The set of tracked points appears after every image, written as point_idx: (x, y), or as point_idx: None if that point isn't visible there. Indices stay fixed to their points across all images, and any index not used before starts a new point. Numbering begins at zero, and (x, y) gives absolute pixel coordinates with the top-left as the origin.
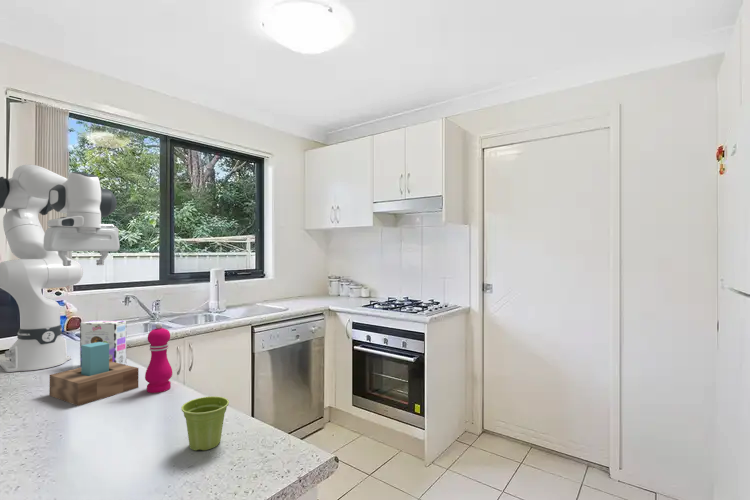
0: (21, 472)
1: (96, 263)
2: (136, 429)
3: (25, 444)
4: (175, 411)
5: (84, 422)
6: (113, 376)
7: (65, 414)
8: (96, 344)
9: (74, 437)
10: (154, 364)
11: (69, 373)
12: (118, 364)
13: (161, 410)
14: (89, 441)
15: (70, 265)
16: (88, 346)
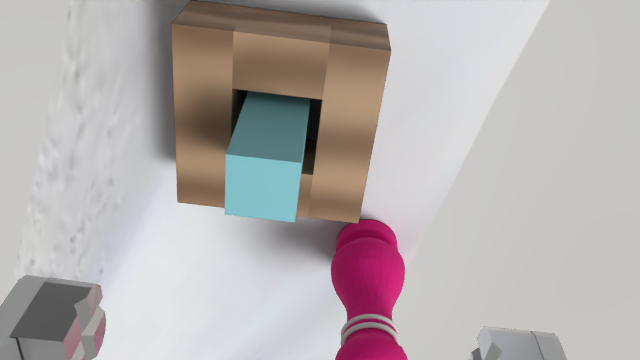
0: None
1: (488, 344)
2: (189, 352)
3: (47, 253)
4: (277, 355)
5: (153, 259)
6: None
7: (150, 187)
8: (263, 193)
9: (112, 297)
10: (344, 305)
11: (217, 75)
12: (365, 131)
13: (268, 333)
14: (120, 327)
15: (101, 335)
16: (227, 197)
